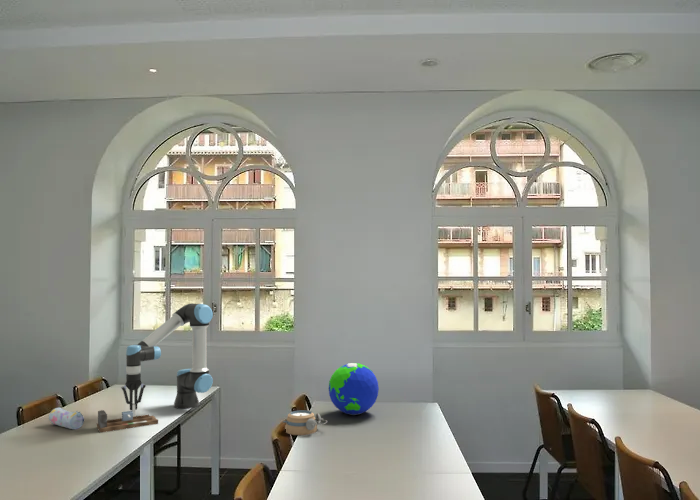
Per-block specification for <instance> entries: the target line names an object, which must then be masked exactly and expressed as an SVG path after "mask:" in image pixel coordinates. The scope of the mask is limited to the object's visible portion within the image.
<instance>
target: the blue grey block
mask: <svg viewBox="0 0 700 500" xmlns="http://www.w3.org/2000/svg"><path fill="white" fill-rule="evenodd" d="M133 417H134V416H133V412H132V410H127V411H122V412H121V418H122V421H128V420H133Z"/></svg>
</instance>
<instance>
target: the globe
mask: <svg viewBox="0 0 700 500" xmlns="http://www.w3.org/2000/svg"><path fill="white" fill-rule="evenodd" d="M328 395H329V397H330V401H331V403H332V404H333V405H334V407H335V408H336V409H338V410H339V411H340V412H343V413H344V414H346V415H350V416H356V415H360V414H363V413H366V412H368V411H369V410H370V409H371V408H372V407H373V406H374V404H375V403H376V401H377V399H378V396H379V381H378V379H377V376H376V375H375V373H374V372H373V370H371V369H370V368H369V367H368V366H366V365H364V364H361V363H356V362H351V363H350V362H348V363H346V364H343V365H340V366H339V367H338V368H337V369H336V370H335V371H334V372H333V373H332V374H331V377H330V379H329V382H328Z"/></svg>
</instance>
